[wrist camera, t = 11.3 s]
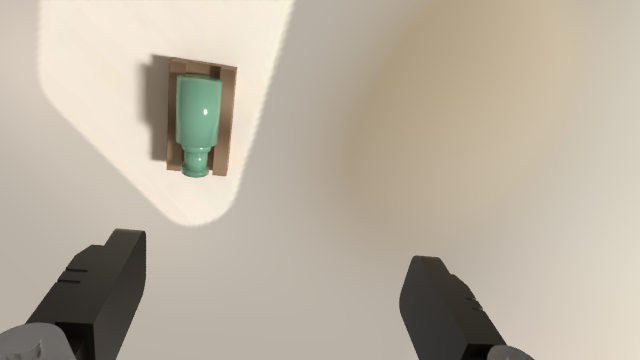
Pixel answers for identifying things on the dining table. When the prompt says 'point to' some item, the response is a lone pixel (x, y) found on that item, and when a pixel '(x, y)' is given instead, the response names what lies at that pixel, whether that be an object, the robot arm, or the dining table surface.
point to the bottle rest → (220, 152)
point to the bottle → (197, 120)
